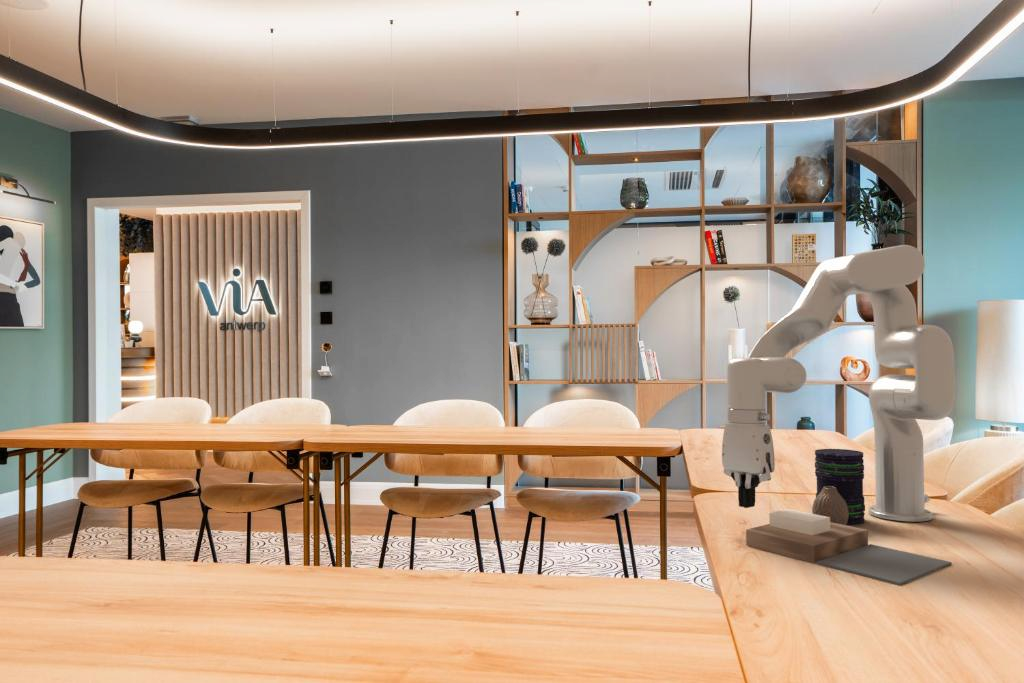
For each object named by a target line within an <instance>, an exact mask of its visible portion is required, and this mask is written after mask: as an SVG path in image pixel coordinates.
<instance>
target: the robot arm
mask: <svg viewBox="0 0 1024 683" xmlns="http://www.w3.org/2000/svg"><path fill="white" fill-rule="evenodd" d="M925 266H926V262H925V258H924V256H923V253H921V250H919V249H918V248H916V247H915V246H913V245H909V244H899V245H895V246H890V247H889V246H888V247H884V248H879V249H878V248H877V249H871V250H867V251H862V252H859V253H854V254H847V255H842V256H837V257H832V258H829V259H826V260H824V261H822V262H820V263H819V264H818V265H817V267H816V268H815V269H814V271H813V273H812V274H811V276H810V278H809V279H808V280H807V283H806V284H805V286H804V288H803V289H802V291H801V293H800V294H799V295H798V298H797V300H796V301H795V303H794V305H793V307H791V309H790V311H789V312H788V313H787V314H786V315H784V316H783V317H781V318H780V319H779V320H778V321H777V322H776V323H775V324H773V325H772V326H771V327H770V328H769V329H768V330H767V331H766V332H764V334H762V336H760V338H759V339H758V340H757V342H756V343H755V344H754V346H753V347H752V349H751V351H750V353H749V354H748V356H747V358H745V357H743V358H742V357H736V358H732V359H730V360H729V361H728V363H727V369H726V370H727V371H726V372H727V373H726V374H727V377H726V378H727V379H726V380H727V422H725V425H724V427H723V428H724V430H723V434H722V441H721V442H722V444H721V464H722V465H721V466H722V467H723V474H724V475H725V476H729V477H731V478H732V479H733V481H734V484H735V487H737V488H738V490H737V491H738V492H737V494H738V495H737V496H738V497H737V498H738V507H741V508H744V509H749V508H753V507H755V506H756V488H758V487H759V485H760V483H763V482H768V481H772V476H771V474H772V473H774V471H775V465H776V463H775V462H776V461H775V450H774V440H773V433H772V430H771V426H770V424H767V421H770V420H771V415H770V414H769V413H767V410H766V409H767V408H766V407H767V404H766V403H767V400H766V398H767V396H766V395H767V394H766V393H773V394H774V393H775V394H791V393H795V392H797V391H798V390H801V388H803V386H805V383H806V381H807V371H806V368H805V367H804V365H803V364H802V363H801V362H800V361H798V360H797V359H794V358H791V357H786V356H787V355H788V354H789V353H790V352H791V351H792V350H794V349H796V348H797V347H799V346H802V344H805V343H807V342H810V341H812V340H814V339H817V338H818V337H820V336H821V335H823V334H825V333H826V332H828V330H829V329H830V327H831V325H832V323H833V322H834V320H835V318H836V316H837V315H838V313H839V311H840V310H841V308H842V306H843V304H844V303H845V302H846V299H847V298H848V297H849V296H853V295H862V294H864V295H865V296H866V297H867V298H868V299H867V300H869V301H870V304H871V307H872V311H873V312H872V313H873V330H874V331H873V332H874V335H873V336H874V339H873V340H874V352H875V358H876V360H877V362H878V363H879V364H880V365H881V366H883V367H885V368H889V369H908V370H910V369H911V370H914V372H915V374H901V373H900V374H899V373H898V374H897V373H896V374H895V373H893V374H885V375H882V376H880V377H877V379H874V381H873V382H872V383H871V385H870V387H869V389H868V401H869V407H870V410H871V414H872V420H873V430H874V465H875V466H874V469H875V470H874V472H875V474H874V476H875V504H873V505H871V506H869V507H868V514H870V515H872V516H873V517H876V518H879V519H883V520H884V519H885V520H890V521H899V522H910V523H911V522H914V523H918V522H928V521H931V520H933V519H934V513H933V512H932V511H930V510H928V509H926V507H925V504H926V503H929V502H930V500H931V498H930V496H929V495H928V494H925V468H924V466H925V465H924V462H925V461H924V436H923V432H922V430H921V427H920V426H919V425H920V424H918V422H917V420H924V421H938V420H943V419H945V418H947V417H948V416H949V415H950V414H951V413H952V411H953V409H954V405H955V401H956V376H955V374H956V373H955V370H956V369H955V353H954V350H955V349H954V345H953V341H952V339H951V337H950V336H949V334H948V332H946V331H945V329H943V328H942V327H941V326H938V325H934V324H918V316H917V315H918V314H917V313H918V312H917V306H916V302H915V301H916V300H915V298H914V296H913V294H912V292H911V291H910V290H909V288H908V287H907V286H908V285H912V284H914V283H915V282H917V281H918V280H919V279H920V278H921V276H922V275H923V273H924V270H925Z"/></svg>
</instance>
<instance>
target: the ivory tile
mask: <svg viewBox="0 0 1024 683" xmlns="http://www.w3.org/2000/svg"><path fill="white" fill-rule="evenodd" d="M768 518H769V524H770V526H772V527H777V528H781V529H786V530H790V531H794V532H799V533H803V534H808V535H816V534H820V533H823V532H827V531H830V517H826V516H821V515H816V514H812V513H811V512H805V511H800V510H795V509H791V508H785V509H781V510H776V511H773V512H772V511H771V512H769V517H768Z"/></svg>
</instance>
